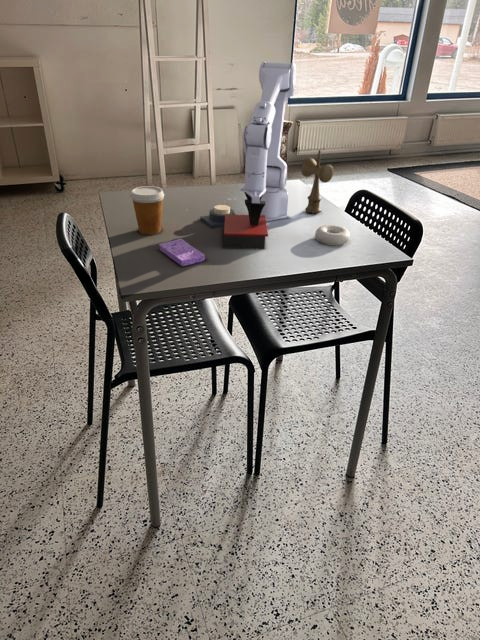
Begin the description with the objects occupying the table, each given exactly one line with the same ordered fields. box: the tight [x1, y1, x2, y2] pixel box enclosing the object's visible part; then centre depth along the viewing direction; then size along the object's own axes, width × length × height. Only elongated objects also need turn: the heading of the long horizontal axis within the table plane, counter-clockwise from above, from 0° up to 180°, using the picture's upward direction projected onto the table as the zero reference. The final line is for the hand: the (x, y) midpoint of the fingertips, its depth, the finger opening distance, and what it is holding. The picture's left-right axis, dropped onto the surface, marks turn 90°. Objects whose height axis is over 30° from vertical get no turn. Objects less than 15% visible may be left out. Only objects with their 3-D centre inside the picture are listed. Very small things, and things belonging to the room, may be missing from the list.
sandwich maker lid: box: [223, 214, 269, 238], centre depth 140 cm, size 12×15×4 cm
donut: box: [314, 224, 351, 246], centre depth 143 cm, size 10×4×10 cm
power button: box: [213, 204, 231, 215], centre depth 153 cm, size 5×5×2 cm
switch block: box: [200, 208, 237, 228], centre depth 154 cm, size 11×8×3 cm
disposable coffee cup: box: [130, 185, 165, 236], centre depth 143 cm, size 10×10×12 cm
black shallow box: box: [223, 235, 266, 250], centre depth 142 cm, size 11×15×4 cm
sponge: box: [158, 238, 206, 267], centre depth 131 cm, size 7×13×2 cm, turn 35°
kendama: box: [300, 149, 334, 214], centre depth 159 cm, size 6×10×20 cm, turn 35°
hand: (253, 220), depth 140 cm, fingers open, 7 cm apart
